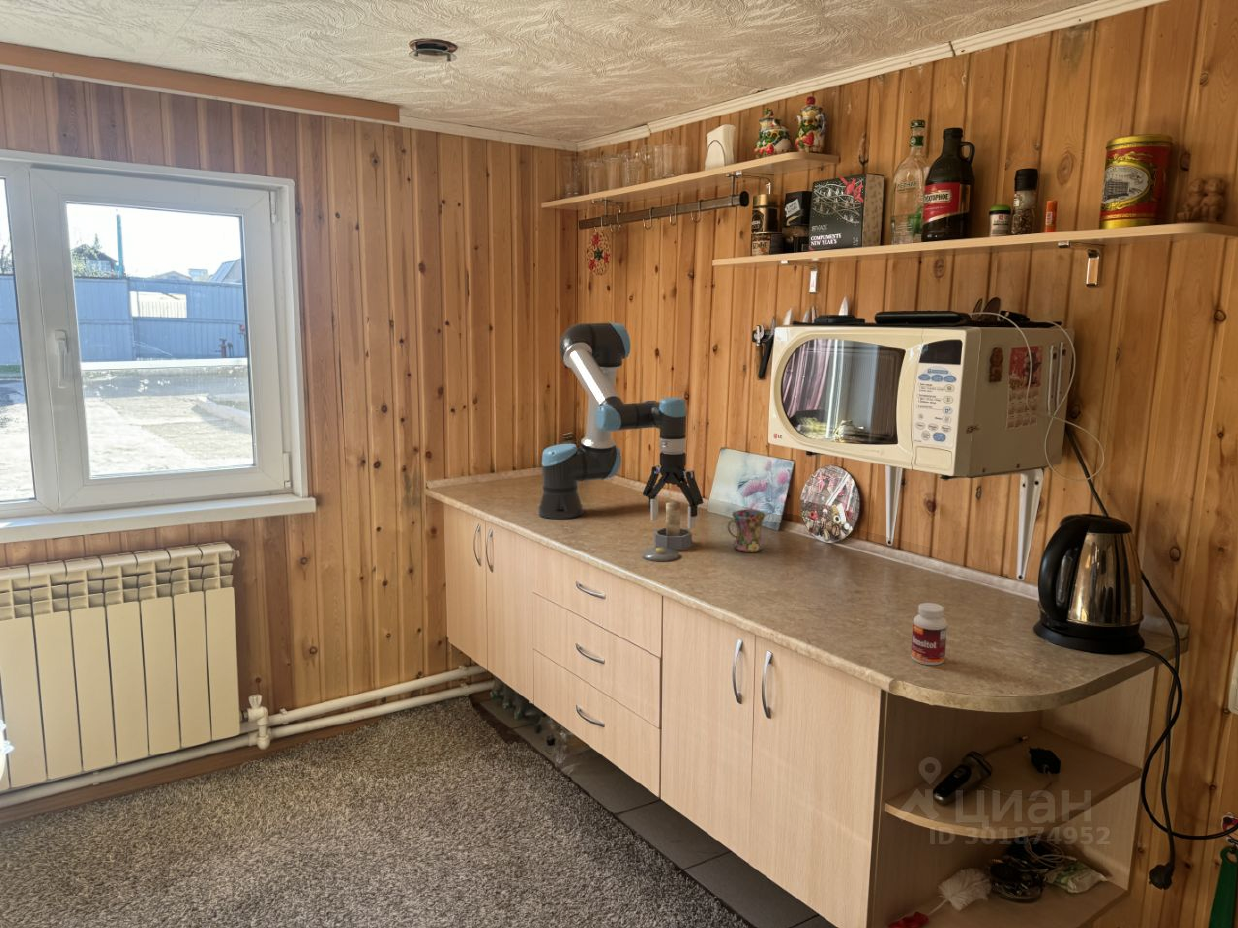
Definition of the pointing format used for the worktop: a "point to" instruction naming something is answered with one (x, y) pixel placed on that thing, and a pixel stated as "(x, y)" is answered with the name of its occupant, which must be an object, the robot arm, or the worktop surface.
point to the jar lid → (660, 554)
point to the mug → (748, 530)
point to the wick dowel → (672, 519)
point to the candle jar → (673, 539)
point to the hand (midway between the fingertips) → (672, 523)
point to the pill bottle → (929, 635)
